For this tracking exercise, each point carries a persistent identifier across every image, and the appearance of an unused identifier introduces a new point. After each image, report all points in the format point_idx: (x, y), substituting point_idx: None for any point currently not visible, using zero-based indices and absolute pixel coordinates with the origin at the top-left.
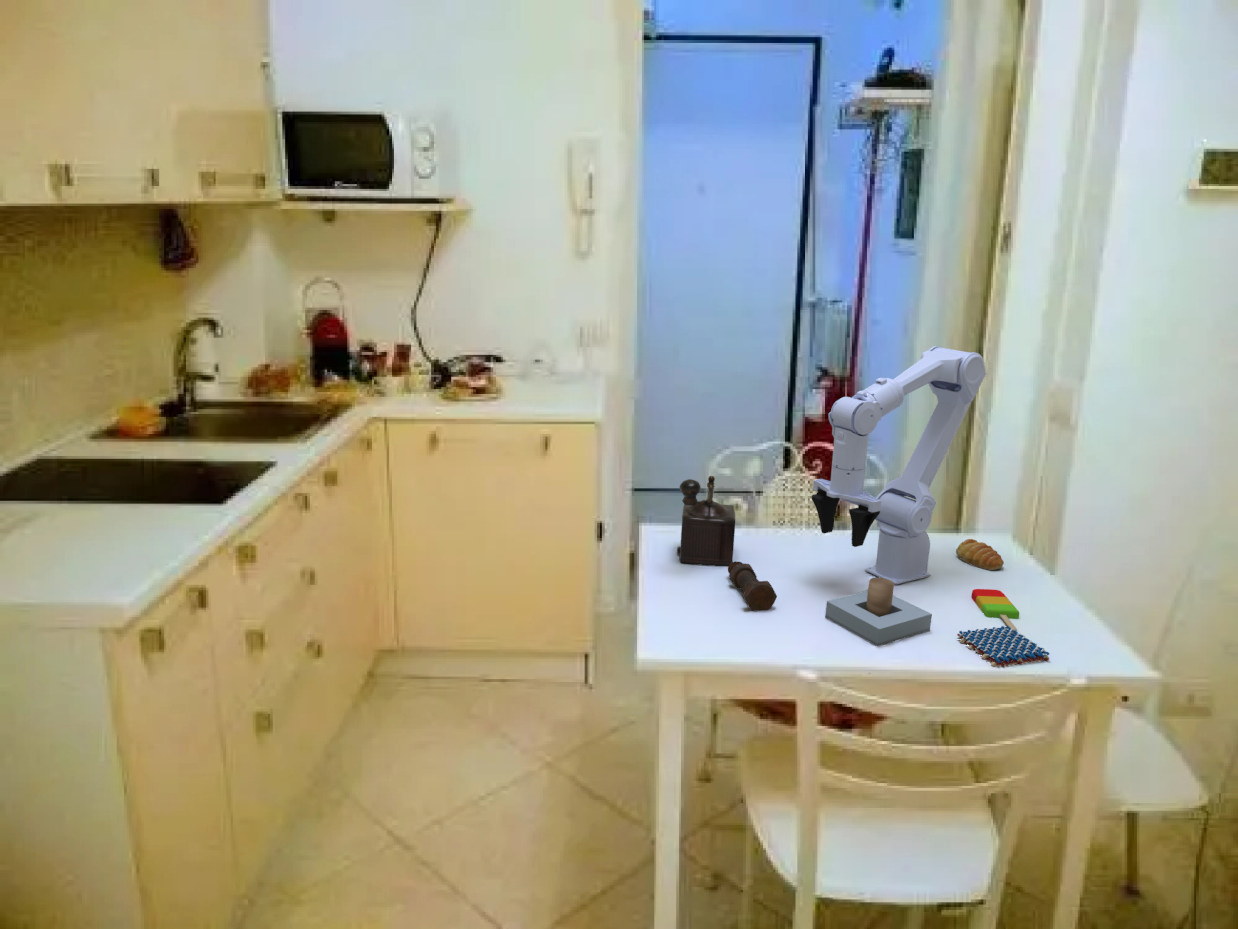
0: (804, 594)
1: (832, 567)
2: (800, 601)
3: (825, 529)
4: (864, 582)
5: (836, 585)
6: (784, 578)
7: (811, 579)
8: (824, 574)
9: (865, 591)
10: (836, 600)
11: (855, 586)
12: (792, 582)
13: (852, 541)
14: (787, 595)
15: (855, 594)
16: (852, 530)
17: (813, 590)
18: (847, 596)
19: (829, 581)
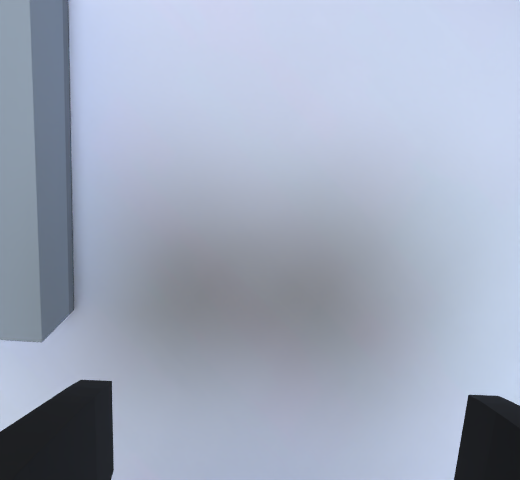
0: (314, 107)
1: (447, 436)
2: (266, 25)
3: (484, 430)
4: (260, 430)
5: (303, 310)
6: (500, 165)
7: (414, 265)
8: (417, 354)
9: (33, 254)
10: (9, 17)
11: (251, 370)
12: (445, 163)
13: (83, 395)
14: (353, 22)
15: (27, 178)
16: (20, 463)
17: (323, 180)
18: (25, 118)
19: (351, 317)
